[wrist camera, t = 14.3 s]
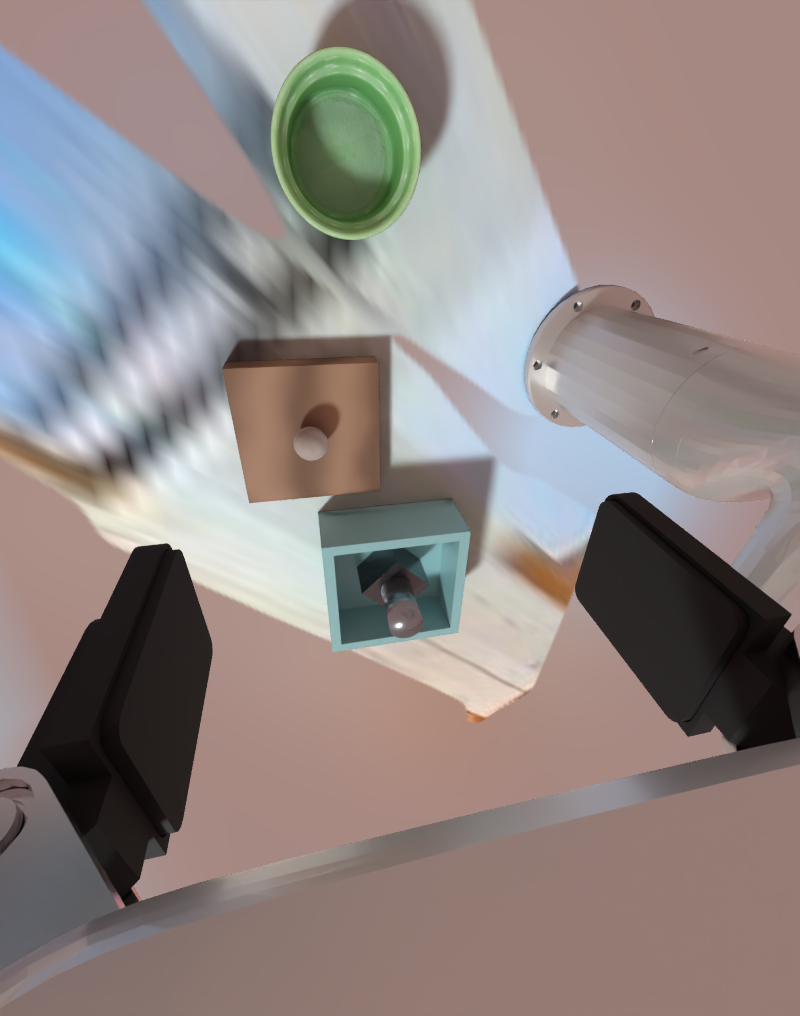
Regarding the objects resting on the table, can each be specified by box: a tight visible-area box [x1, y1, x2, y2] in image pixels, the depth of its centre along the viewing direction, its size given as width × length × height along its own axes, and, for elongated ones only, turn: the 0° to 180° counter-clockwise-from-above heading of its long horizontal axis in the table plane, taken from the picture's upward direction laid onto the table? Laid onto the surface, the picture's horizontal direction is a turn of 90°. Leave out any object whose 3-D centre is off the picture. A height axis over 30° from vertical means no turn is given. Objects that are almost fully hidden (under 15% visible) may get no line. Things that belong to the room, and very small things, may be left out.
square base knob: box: [357, 548, 430, 638], centre depth 45 cm, size 5×5×9 cm
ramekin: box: [271, 46, 421, 240], centre depth 28 cm, size 9×9×4 cm
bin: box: [318, 499, 471, 652], centre depth 47 cm, size 14×14×6 cm
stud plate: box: [222, 356, 380, 503], centre depth 37 cm, size 12×12×5 cm
